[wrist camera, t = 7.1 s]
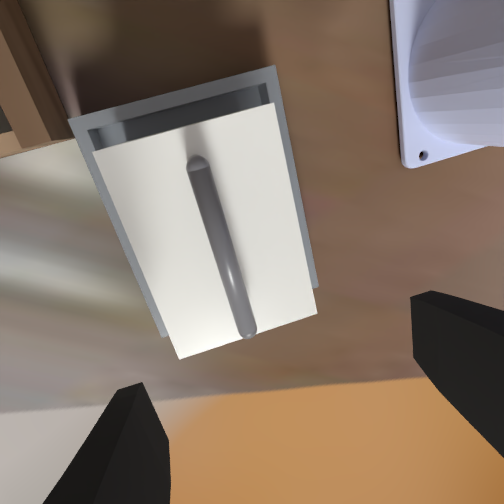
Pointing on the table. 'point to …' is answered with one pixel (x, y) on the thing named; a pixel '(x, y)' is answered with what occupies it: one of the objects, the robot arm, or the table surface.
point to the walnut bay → (26, 89)
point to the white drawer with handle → (213, 227)
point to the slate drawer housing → (174, 116)
